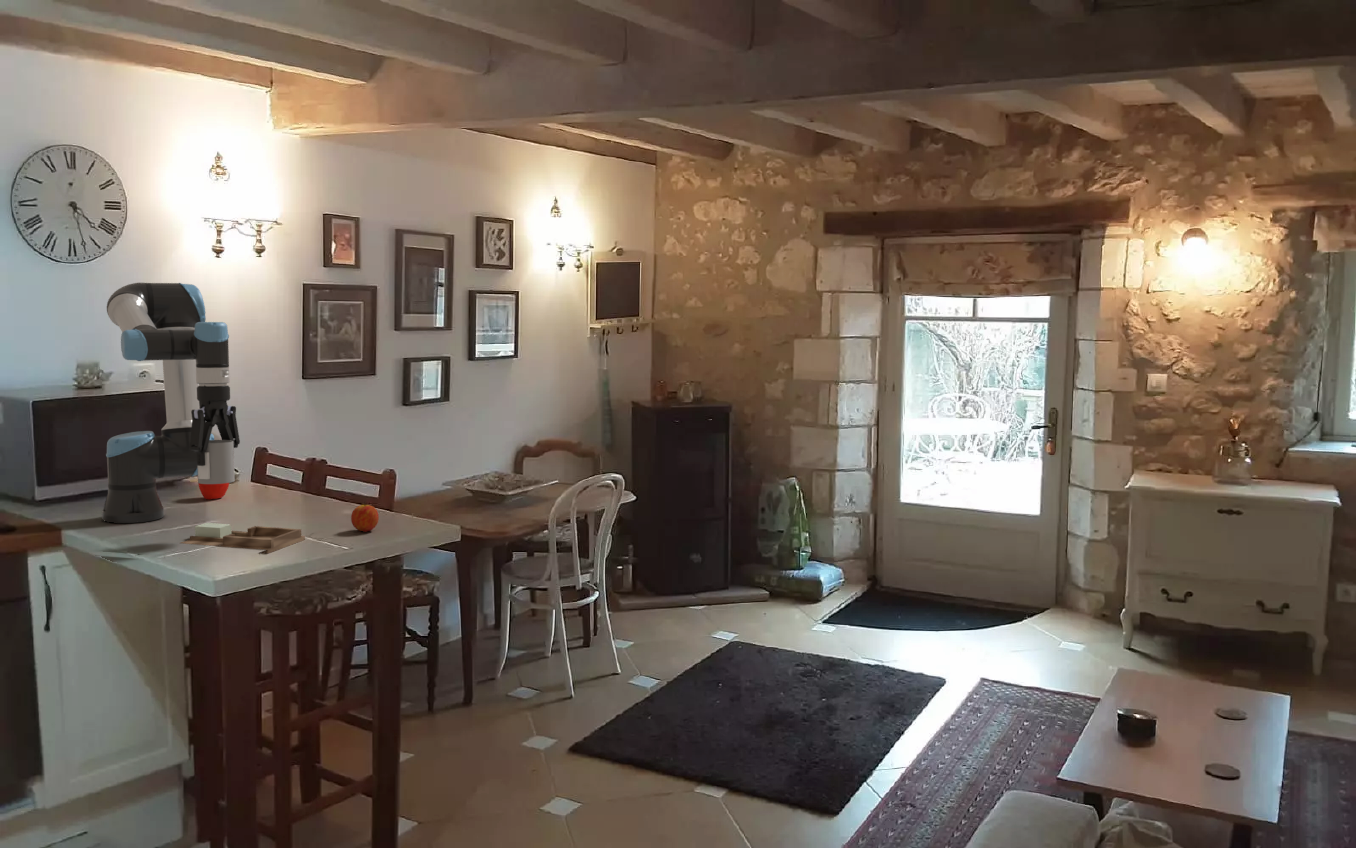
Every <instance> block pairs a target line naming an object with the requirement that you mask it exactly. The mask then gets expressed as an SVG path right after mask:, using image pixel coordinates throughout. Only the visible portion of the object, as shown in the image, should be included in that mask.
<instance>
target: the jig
mask: <svg viewBox="0 0 1356 848" xmlns="http://www.w3.org/2000/svg"><path fill="white" fill-rule="evenodd" d="M246 530H247V531H242V530H241V531H239V530H231V532H232V534H229V535H226V536H223V538H215V537H202V536H195V535H190V536H189V539H188V540H185V541H182V542H180V544H186V545H199V546H200V545H201V546H212V547H225V548H239V549H250V550H251V549H253V550H262V551H260V552H258V554H265V555H267V554H271V553H274V552H276V551H279V550H281V549H284V548H287V547H290V546H292V545H294V544H298V543H300V542H303V541H305V540H306V537H305V535H302V528H287V527H275V526H274V527H273V526H258V525H254V526H251V527H248V528H247V529H246Z"/></svg>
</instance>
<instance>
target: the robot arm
mask: <svg viewBox="0 0 1356 848" xmlns="http://www.w3.org/2000/svg"><path fill="white" fill-rule="evenodd" d="M106 313H107V315H108V318H109V319H110V321H111V323H113V324H114V325H116V326H117V327H118V328H119V329H120V330H121V336H120V348H121V349H120V350H121V355H122V358H123V359H124V360H126V361H137V362H142V361H145V362H146V361H162V369H163V370H162V371H163V386H164V401H165V402H164V403H165V415H166V424H165V425H164V426H163V427H162V428H161V435H156V433H154V431H152V430H142V431H141V430H140V431H139V430H138V431H131V432H126V433H121V434H118V435H115V436H112V437H110V438H109V439H108V440H107V443H106V453H105V456H106V463H107V466H106V467H107V487H108V488H107V495H106V498H105V502H104V505H103V509H102V511H101V520H102V519H103V520H105V521H108V522H107V523H109V522H114V523H113V524H134V523H145V522H152V521H156V520H159V519H162V518H164V517H165V508H164V506H163V505H162V500H161V499H160V496H159V492H158V491H157V481H156V480H157V479H167V478H179V477H180V478H181V477H182V478H183V477H185V478H186V477H192V478H193V477H195V476H197V480H198V479H210V463H209V452H206V451H207V447H208V443H209V440H215V435H214V434H213V433H212V431H213V428H214V427H215V426H216V428H217V429H218V432H219V435H220V437H221V438H220V440H232V441H233V444H234V449H237V448H238V447H239V445H240V443H241V440H240V435H239V429H238V428H239V427H238V422H237V417H236V416H237V413H236V412H237V407H236V405H235V406H234V405H228V401H230V399H231V387H230V385H228V384H230V359H229V358H230V357H229V353H230V352H229V337H230V335H229V332H228V325H227V323H226V322H223V321H206V307H205V302H204V298H203V295H202V293H201V290H200V288H198V287H197V286H196V285H194V284H191V283H190V284H189V283H182V282H178V283H177V282H174V283H173V282H171V283H170V282H133V283H130V284H129V283H128V284H127V285H124V286H121V287H120V288H118V289H116V291H114V292H113V293H112V294H111V295H110V297H108V300H107V302H106ZM197 465H198V469H197ZM103 520H102V521H103ZM105 521H104V522H105Z"/></svg>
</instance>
